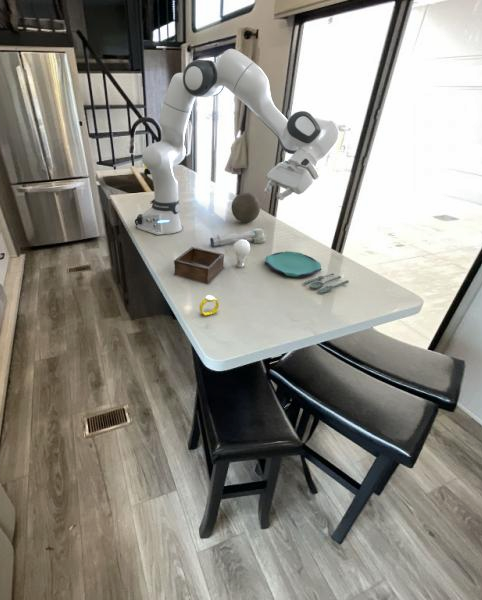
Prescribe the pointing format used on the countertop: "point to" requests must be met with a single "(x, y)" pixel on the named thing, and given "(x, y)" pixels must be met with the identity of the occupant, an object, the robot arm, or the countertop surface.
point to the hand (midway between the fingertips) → (272, 195)
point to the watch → (209, 299)
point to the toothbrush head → (239, 237)
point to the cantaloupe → (245, 207)
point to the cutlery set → (299, 268)
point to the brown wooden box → (196, 271)
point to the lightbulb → (241, 251)
